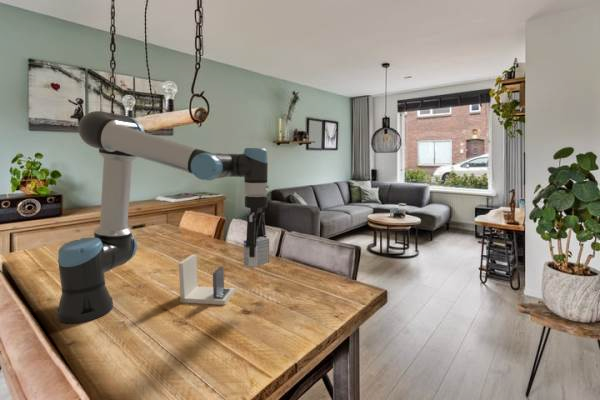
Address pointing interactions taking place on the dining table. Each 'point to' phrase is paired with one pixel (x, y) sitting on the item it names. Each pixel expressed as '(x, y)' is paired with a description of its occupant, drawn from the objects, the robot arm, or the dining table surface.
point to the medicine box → (258, 252)
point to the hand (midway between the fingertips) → (256, 261)
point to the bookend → (219, 284)
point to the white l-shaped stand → (196, 285)
